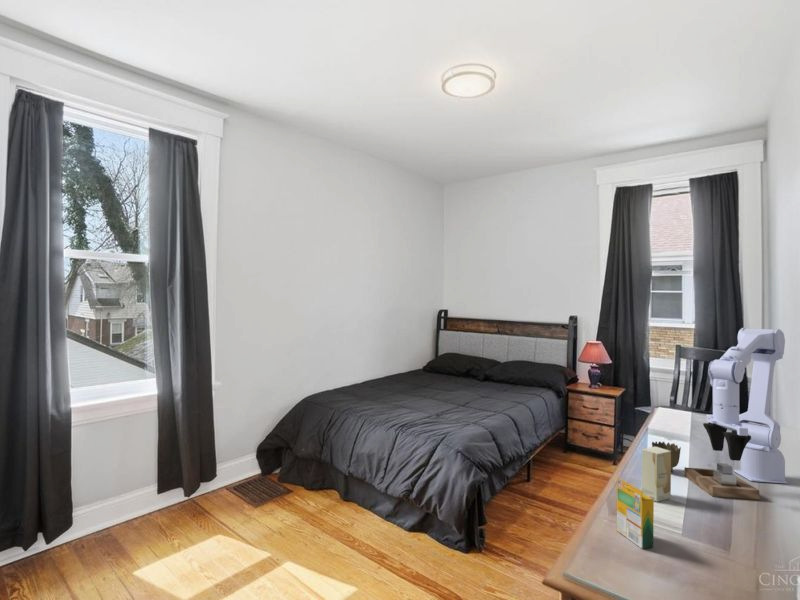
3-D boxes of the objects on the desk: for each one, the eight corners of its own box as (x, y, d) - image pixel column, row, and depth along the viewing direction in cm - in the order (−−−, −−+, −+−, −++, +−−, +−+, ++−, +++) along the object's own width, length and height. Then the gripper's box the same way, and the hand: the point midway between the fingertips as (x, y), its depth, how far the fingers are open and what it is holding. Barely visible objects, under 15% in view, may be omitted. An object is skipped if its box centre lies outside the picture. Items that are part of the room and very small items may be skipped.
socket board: (725, 478, 122) (725, 470, 122) (759, 500, 108) (759, 490, 108) (684, 475, 123) (684, 467, 123) (712, 496, 109) (712, 486, 109)
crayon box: (654, 548, 85) (654, 490, 85) (641, 549, 84) (642, 491, 84) (627, 529, 92) (627, 476, 92) (616, 530, 91) (616, 477, 92)
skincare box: (657, 502, 105) (657, 453, 106) (640, 495, 109) (640, 448, 109) (672, 498, 108) (672, 450, 109) (655, 491, 112) (655, 445, 112)
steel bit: (727, 488, 114) (727, 462, 114) (736, 494, 110) (736, 467, 111) (713, 487, 115) (713, 462, 115) (721, 493, 111) (721, 466, 111)
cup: (685, 477, 122) (685, 449, 123) (657, 474, 124) (657, 447, 124) (674, 467, 130) (674, 442, 130) (648, 465, 131) (648, 440, 131)
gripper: (695, 398, 121) (695, 445, 121) (726, 409, 107) (726, 463, 106) (721, 399, 120) (722, 447, 119) (757, 411, 106) (757, 465, 105)
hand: (726, 455), depth 113 cm, fingers open, 7 cm apart
